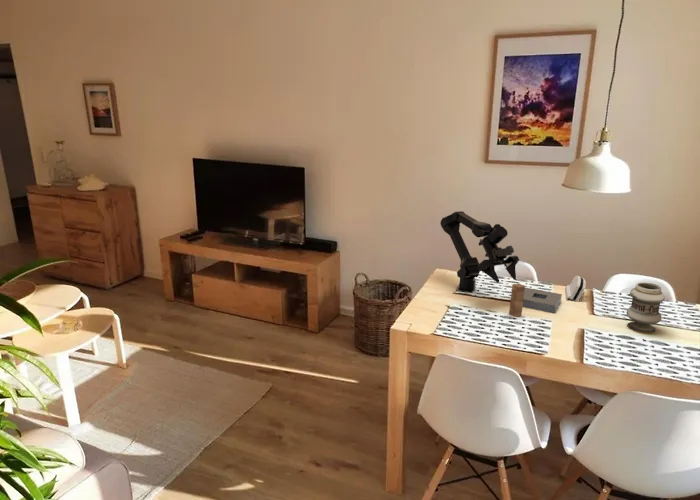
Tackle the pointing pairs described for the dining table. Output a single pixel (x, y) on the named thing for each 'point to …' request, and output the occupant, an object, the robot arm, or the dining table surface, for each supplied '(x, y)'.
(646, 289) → the apothecary jar
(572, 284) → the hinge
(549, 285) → the dining table surface
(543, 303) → the grey slotted block
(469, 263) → the robot arm
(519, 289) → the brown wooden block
